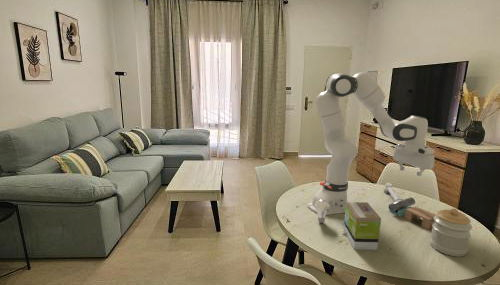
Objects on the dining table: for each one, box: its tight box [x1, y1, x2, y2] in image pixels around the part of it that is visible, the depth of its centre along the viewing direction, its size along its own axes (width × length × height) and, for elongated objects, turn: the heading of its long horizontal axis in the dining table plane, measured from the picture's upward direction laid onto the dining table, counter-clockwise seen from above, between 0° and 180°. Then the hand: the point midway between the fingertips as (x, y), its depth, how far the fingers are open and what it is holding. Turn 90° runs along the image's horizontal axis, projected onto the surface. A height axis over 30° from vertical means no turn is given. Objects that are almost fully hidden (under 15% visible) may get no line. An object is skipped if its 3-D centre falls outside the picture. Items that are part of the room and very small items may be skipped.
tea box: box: [343, 201, 382, 251], centre depth 120 cm, size 15×10×15 cm
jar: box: [429, 208, 473, 257], centre depth 115 cm, size 13×13×18 cm
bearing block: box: [403, 205, 437, 231], centre depth 137 cm, size 8×12×5 cm, turn 27°
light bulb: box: [315, 199, 330, 224], centre depth 135 cm, size 7×7×12 cm
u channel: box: [389, 206, 413, 217], centre depth 149 cm, size 10×6×3 cm, turn 117°
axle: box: [388, 197, 416, 213], centre depth 148 cm, size 16×4×4 cm, turn 117°
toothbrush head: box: [382, 182, 404, 203], centre depth 166 cm, size 5×7×25 cm
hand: (410, 172), depth 147 cm, fingers open, 8 cm apart
